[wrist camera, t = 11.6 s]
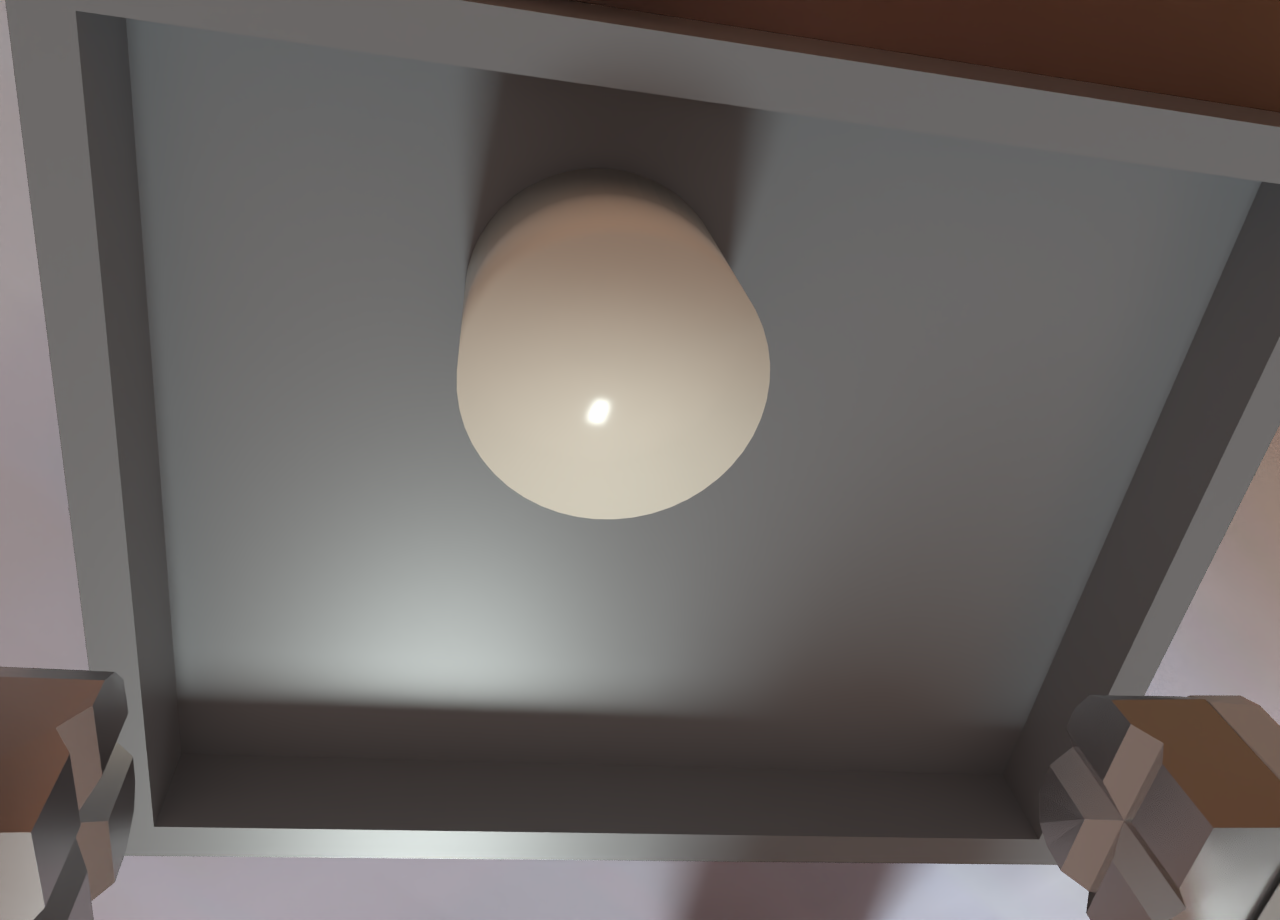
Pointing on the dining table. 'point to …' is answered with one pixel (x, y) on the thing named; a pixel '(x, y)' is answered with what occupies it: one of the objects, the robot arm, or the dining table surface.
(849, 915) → the dining table surface
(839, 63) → the parts tray
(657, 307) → the cream pebble
